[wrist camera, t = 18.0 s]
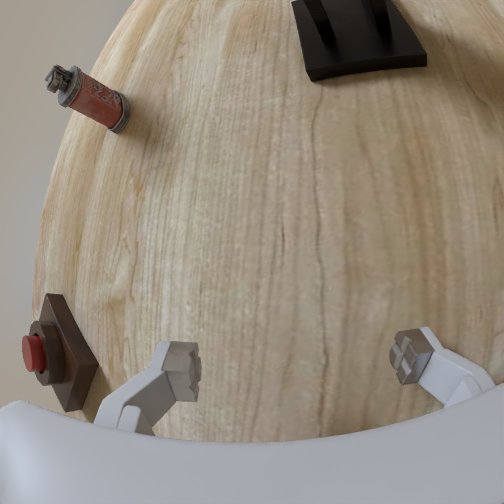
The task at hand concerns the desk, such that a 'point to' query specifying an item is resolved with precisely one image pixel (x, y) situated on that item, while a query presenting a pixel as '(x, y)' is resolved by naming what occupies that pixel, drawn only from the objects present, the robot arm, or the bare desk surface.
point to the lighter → (89, 97)
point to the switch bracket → (354, 37)
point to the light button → (33, 353)
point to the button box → (63, 353)
